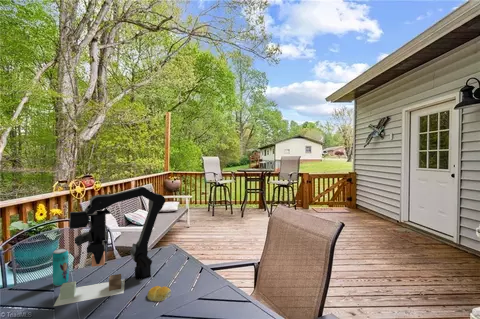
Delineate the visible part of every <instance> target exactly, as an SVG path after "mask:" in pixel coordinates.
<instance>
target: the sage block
mask: <svg viewBox="0 0 480 319" xmlns="http://www.w3.org/2000/svg"><path fill="white" fill-rule="evenodd" d="M76 288H77V281H68V282H67V283H63V284H62V285H60V288H59V295H60V300H63V299H68V298H74V296H75V293H76Z"/></svg>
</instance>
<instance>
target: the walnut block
mask: <svg viewBox="0 0 480 319" xmlns="http://www.w3.org/2000/svg"><path fill="white" fill-rule="evenodd" d="M121 280H122V273H117V274H112V275H109V279H108V282H109V291H112V290H117V289H121Z"/></svg>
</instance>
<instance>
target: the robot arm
mask: <svg viewBox="0 0 480 319" xmlns="http://www.w3.org/2000/svg"><path fill="white" fill-rule="evenodd" d="M138 197H144V198H145V199H147V200H148V203H147V204H148V211H147V214H146V217H145V221H144V223H143V227H142V230H141V232H140V235H139V239H138V240H137V242H136V243H132V247H131V249H130V250H129V253H130V256H131V259H132V260H133V261H134V263H135V267H134V279H135V280H137V281H140V280H143V279H144V280H145V279H151V278H152V270H151V269H152V263H153V260H152V259H151V258H150V257H149V256H148V253H149V242H150V238H151V235H152V232H153V229H154V226H155V224H156V220H157V217H158V214H159V213H160V212H161V210H162V209H163V207H164V205H165V203H166V198H165V196H164V195H163V194H160V193H155V192H153V191H151V190H149V189H148V188H147V187H145V186H139V187H136V188H131V189H129V190H124V191H120V192H116V193H110V194H109V193H108V194H97V195H93V196H91V198H90V200H89V204H88V205H87V207H86V208H85V209H84V210H82V211H69V220H68V221H69V230H75V229H81V228H87V226H88V225H90V229H89V230H88V231H86V232H84V233H82V234H79V235H77V236H75V237H74V240H73V241H74V244H76V247H79V246H81V245H84V244H85V243H87V242H88V243H89V244H87V247H86V253H87V254H91V253H92V254H93V255H94V258H95V261H96V264H99V263H100V261H101V258H102V256H103V253H104V251H105V250H106V246H107V244H108V241H109V233H108V232H107V219H106V218H107V217H106V216H107V215H110V214H112V212H111V211H110V210H109V209H108V208H109V207H111V206H112V205H114V204H117V203H120V202H124V201H128V200H131V199H135V198H138ZM105 252H106V251H105Z"/></svg>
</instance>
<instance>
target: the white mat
mask: <svg viewBox="0 0 480 319" xmlns="http://www.w3.org/2000/svg"><path fill="white" fill-rule="evenodd" d="M125 281H126V279H125V278H123V279H121V289H117V290H112V291H109V281H107V282H101V283H95V284H89V285H84V286H78V287H77V286H76V293H75V296H74V298H68V299H63V300H60V294H59V295H58V297H57V299H56V301H55V302H54V305H52V306H53V307H58V306H63V305H70V304H75V303H79V302H83V301H84V302H85V301H89V300H95V299H101V298H105V297H111V296H116V295H120V294H125V293H124V292H125Z"/></svg>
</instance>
